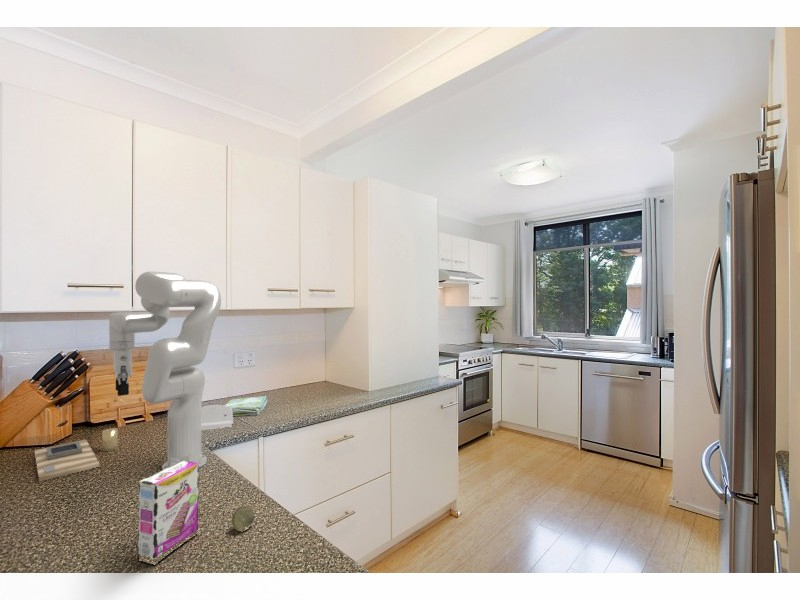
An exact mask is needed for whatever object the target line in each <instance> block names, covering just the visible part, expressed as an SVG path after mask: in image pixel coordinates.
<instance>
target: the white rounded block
mask: <svg viewBox="0 0 800 600" xmlns="http://www.w3.org/2000/svg"><path fill="white" fill-rule="evenodd" d="M224 405H225V404H224ZM224 405H222V404H210V405H205V406H201V431H206V430H207V431H208V430H217V429H218V428H219V429H226V428H225V427H230V428H232V427H233V425H234V416H233V412H232V408H231V407H229V406H224Z"/></svg>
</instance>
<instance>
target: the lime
mask: <svg viewBox="0 0 800 600" xmlns="http://www.w3.org/2000/svg"><path fill="white" fill-rule="evenodd" d="M254 521H255V514H254V511H253V509H252V508H250V507H249V506H245V505H244V506H241V507H239V508H237V510H235V511H234V512H233V514H232V517H231V524H232V526H233V528H234V530H236V531H237V532H239V531H240V530H242V529H244V528H245V527H247V526H249V525H251V524H252V525H253V524H254ZM252 525H251V526H252Z"/></svg>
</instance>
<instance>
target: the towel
mask: <svg viewBox="0 0 800 600" xmlns="http://www.w3.org/2000/svg"><path fill="white" fill-rule="evenodd" d="M268 400H269V399H268V395H265V396H264V395H262V396H253V397H252V396H251V397H244V398H243V397H242V398H233V399H230V400H228V402H226V404H224V406H229V407H231V408H232V412H233V417H239V416H241V417H242V416H243V417H244V416H253V415H255V416H258V415H257V414H260V412H261V411H262V410H263V411H264V409H265V408H266V407H265V406H267V405H268ZM264 407H265V408H264ZM263 411H262V412H263ZM262 412H261V413H262ZM260 415H261V414H260Z"/></svg>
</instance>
